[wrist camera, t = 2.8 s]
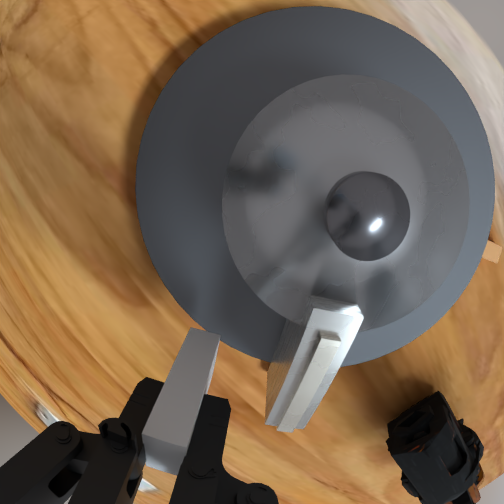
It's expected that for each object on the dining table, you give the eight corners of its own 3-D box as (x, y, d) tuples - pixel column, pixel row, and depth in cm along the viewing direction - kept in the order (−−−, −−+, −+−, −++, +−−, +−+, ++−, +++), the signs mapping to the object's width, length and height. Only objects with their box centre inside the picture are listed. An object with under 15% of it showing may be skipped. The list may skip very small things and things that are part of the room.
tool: (421, 338, 25) (473, 407, 11) (477, 448, 21) (508, 515, 7) (360, 380, 27) (364, 473, 13) (429, 478, 23) (443, 552, 9)
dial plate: (94, 268, 17) (78, 280, 15) (274, -26, 10) (273, -44, 8) (352, 409, 20) (357, 427, 18) (524, 192, 13) (541, 198, 11)
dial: (260, 68, 11) (254, 29, 7) (453, 137, 11) (508, 137, 7) (200, 357, 16) (182, 411, 12) (358, 384, 16) (372, 436, 12)
